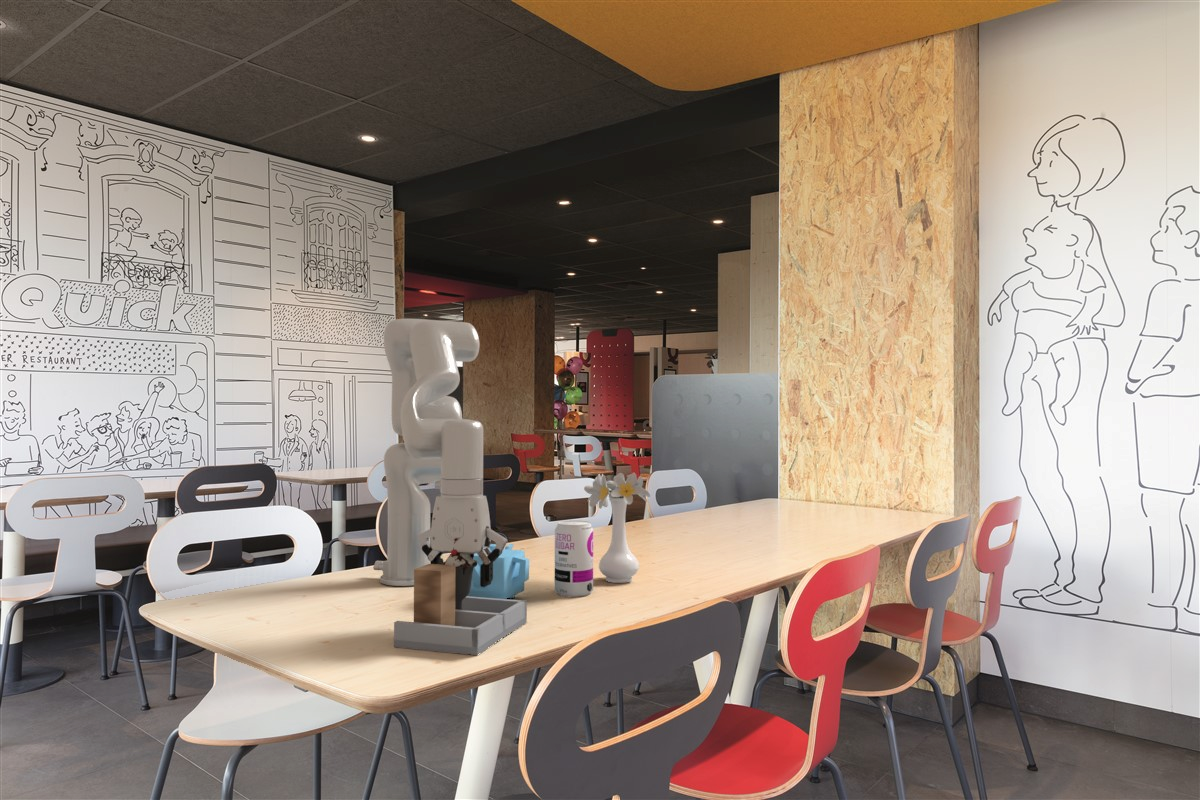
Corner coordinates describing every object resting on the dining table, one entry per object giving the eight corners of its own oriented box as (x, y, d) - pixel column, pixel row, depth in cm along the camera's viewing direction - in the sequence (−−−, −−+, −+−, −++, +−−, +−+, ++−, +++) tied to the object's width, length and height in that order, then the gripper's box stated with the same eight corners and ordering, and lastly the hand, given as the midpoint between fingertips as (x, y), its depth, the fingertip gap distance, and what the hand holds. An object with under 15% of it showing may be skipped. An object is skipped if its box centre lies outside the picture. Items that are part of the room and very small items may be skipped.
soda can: (594, 589, 166) (595, 520, 166) (590, 598, 158) (590, 525, 158) (558, 588, 167) (558, 519, 167) (551, 597, 159) (552, 525, 159)
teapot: (436, 605, 151) (437, 548, 151) (481, 587, 168) (481, 535, 168) (508, 613, 146) (508, 554, 146) (546, 592, 163) (547, 539, 163)
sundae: (445, 627, 131) (445, 540, 131) (435, 616, 137) (435, 534, 137) (482, 622, 134) (482, 537, 134) (471, 611, 140) (471, 530, 140)
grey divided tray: (393, 646, 124) (394, 622, 124) (452, 616, 143) (452, 595, 143) (477, 655, 119) (477, 629, 120) (526, 622, 139) (526, 600, 139)
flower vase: (608, 570, 186) (608, 468, 187) (664, 582, 173) (664, 472, 173) (568, 578, 178) (568, 470, 178) (623, 591, 164) (623, 475, 165)
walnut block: (413, 636, 126) (414, 569, 126) (428, 628, 131) (429, 563, 131) (440, 638, 124) (441, 571, 125) (455, 630, 129) (455, 565, 129)
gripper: (408, 488, 136) (407, 584, 136) (497, 491, 131) (496, 591, 131) (429, 485, 143) (429, 576, 143) (514, 488, 138) (514, 582, 138)
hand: (461, 583), depth 137 cm, fingers open, 9 cm apart
